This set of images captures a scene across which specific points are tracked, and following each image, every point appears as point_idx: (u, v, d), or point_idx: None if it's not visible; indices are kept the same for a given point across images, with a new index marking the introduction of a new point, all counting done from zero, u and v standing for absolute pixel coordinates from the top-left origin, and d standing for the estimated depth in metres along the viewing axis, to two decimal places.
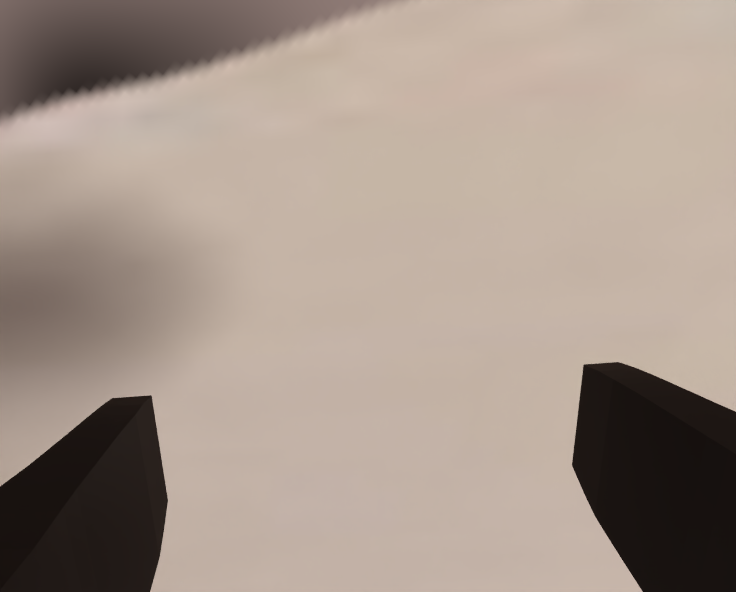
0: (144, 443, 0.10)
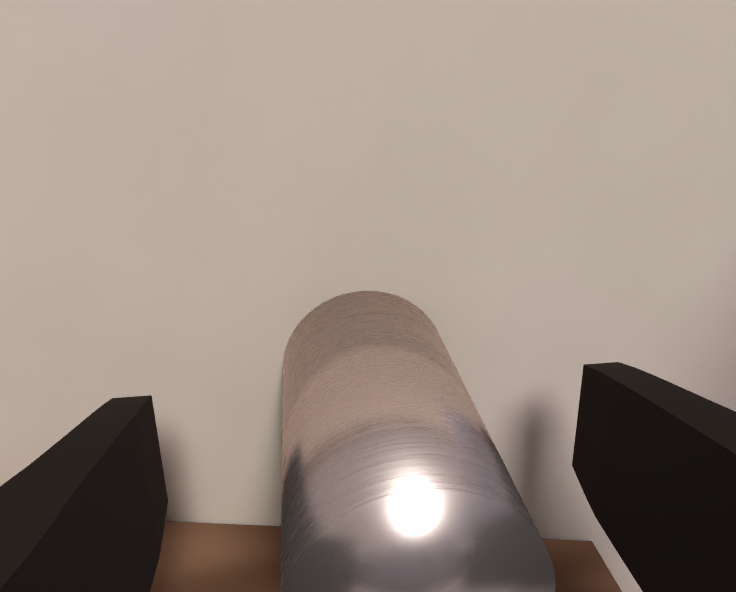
0: (144, 442, 0.10)
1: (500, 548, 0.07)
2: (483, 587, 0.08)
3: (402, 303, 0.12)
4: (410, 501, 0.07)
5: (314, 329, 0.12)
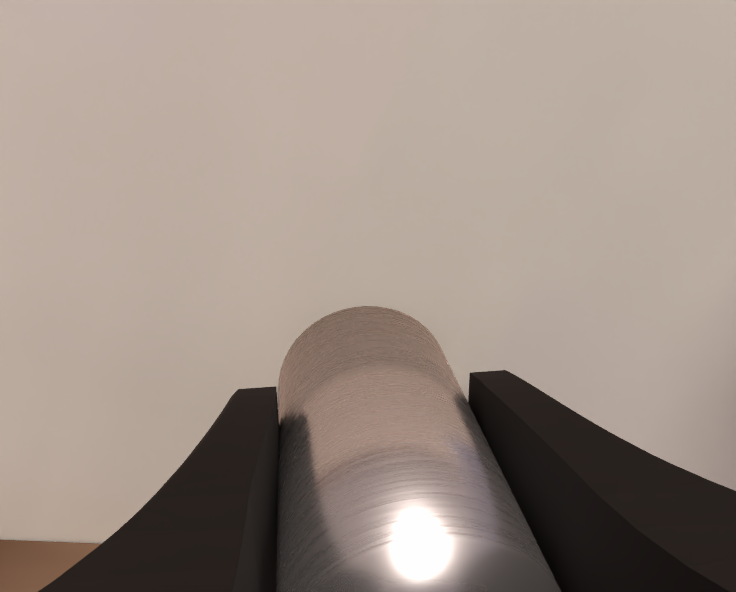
0: (276, 432, 0.10)
1: None
2: None
3: (404, 319, 0.12)
4: (417, 547, 0.07)
5: (311, 348, 0.11)
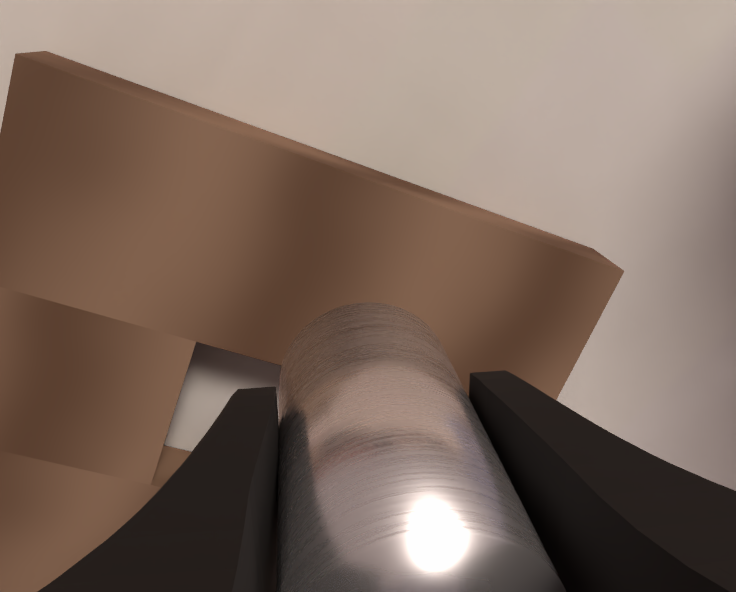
0: (276, 432, 0.10)
1: None
2: None
3: (406, 316, 0.12)
4: (422, 540, 0.06)
5: (314, 342, 0.11)
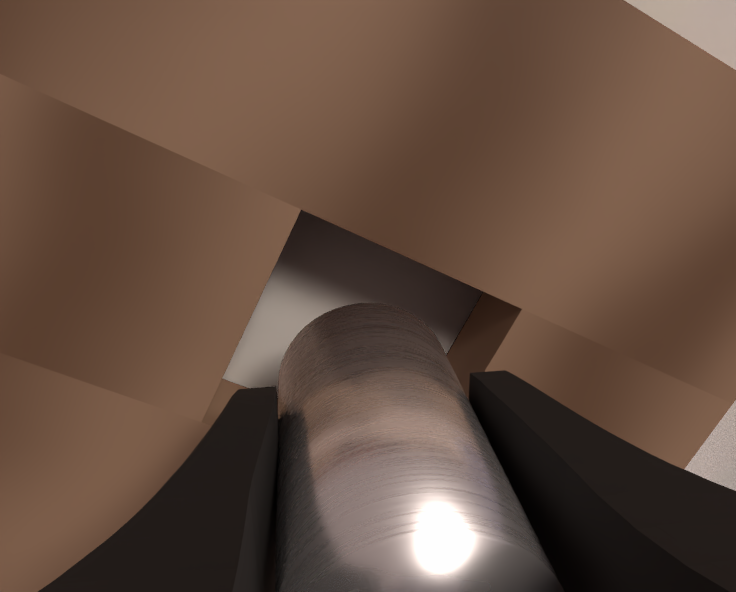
0: (276, 432, 0.10)
1: None
2: None
3: (406, 317, 0.12)
4: (421, 541, 0.06)
5: (314, 343, 0.11)
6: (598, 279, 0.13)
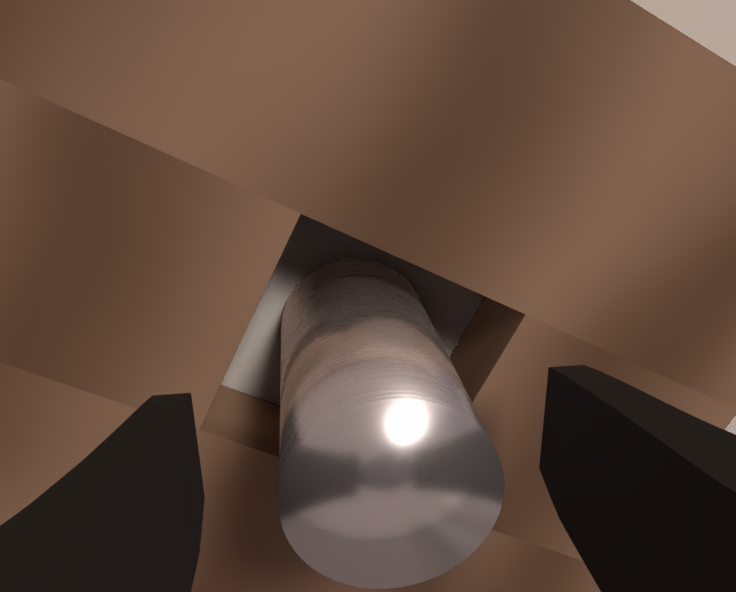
0: (186, 440, 0.10)
1: (459, 451, 0.09)
2: (445, 485, 0.09)
3: (388, 270, 0.14)
4: (387, 406, 0.09)
5: (310, 289, 0.13)
6: (603, 284, 0.13)
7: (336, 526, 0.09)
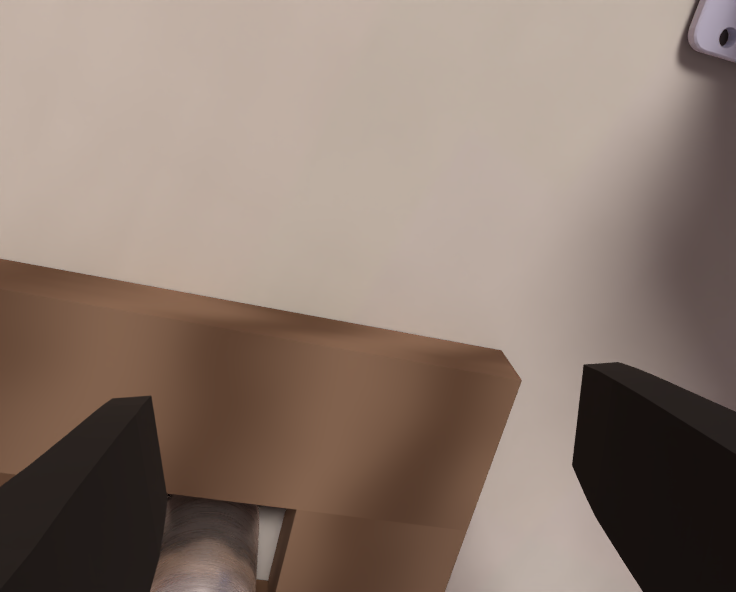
0: (144, 443, 0.10)
1: None
2: None
3: None
4: None
5: (167, 512, 0.21)
6: (339, 483, 0.20)
7: None
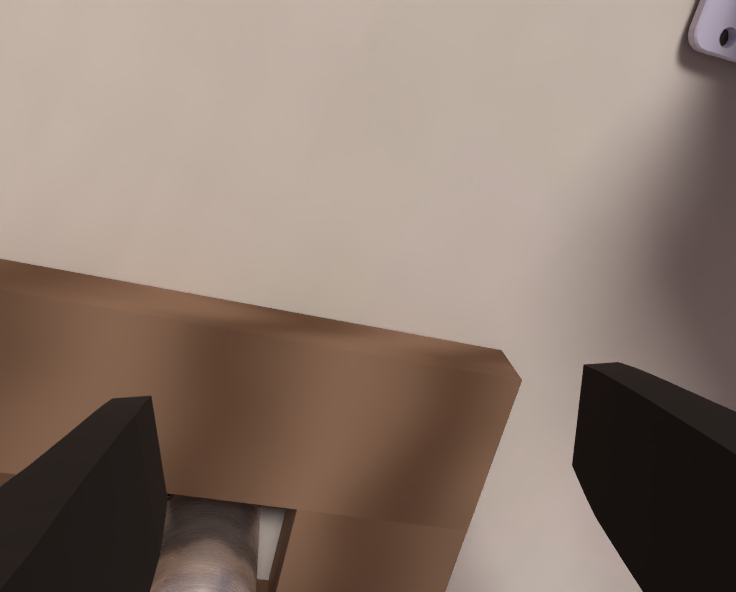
0: (144, 442, 0.10)
1: None
2: None
3: None
4: None
5: (168, 512, 0.21)
6: (340, 483, 0.20)
7: None
